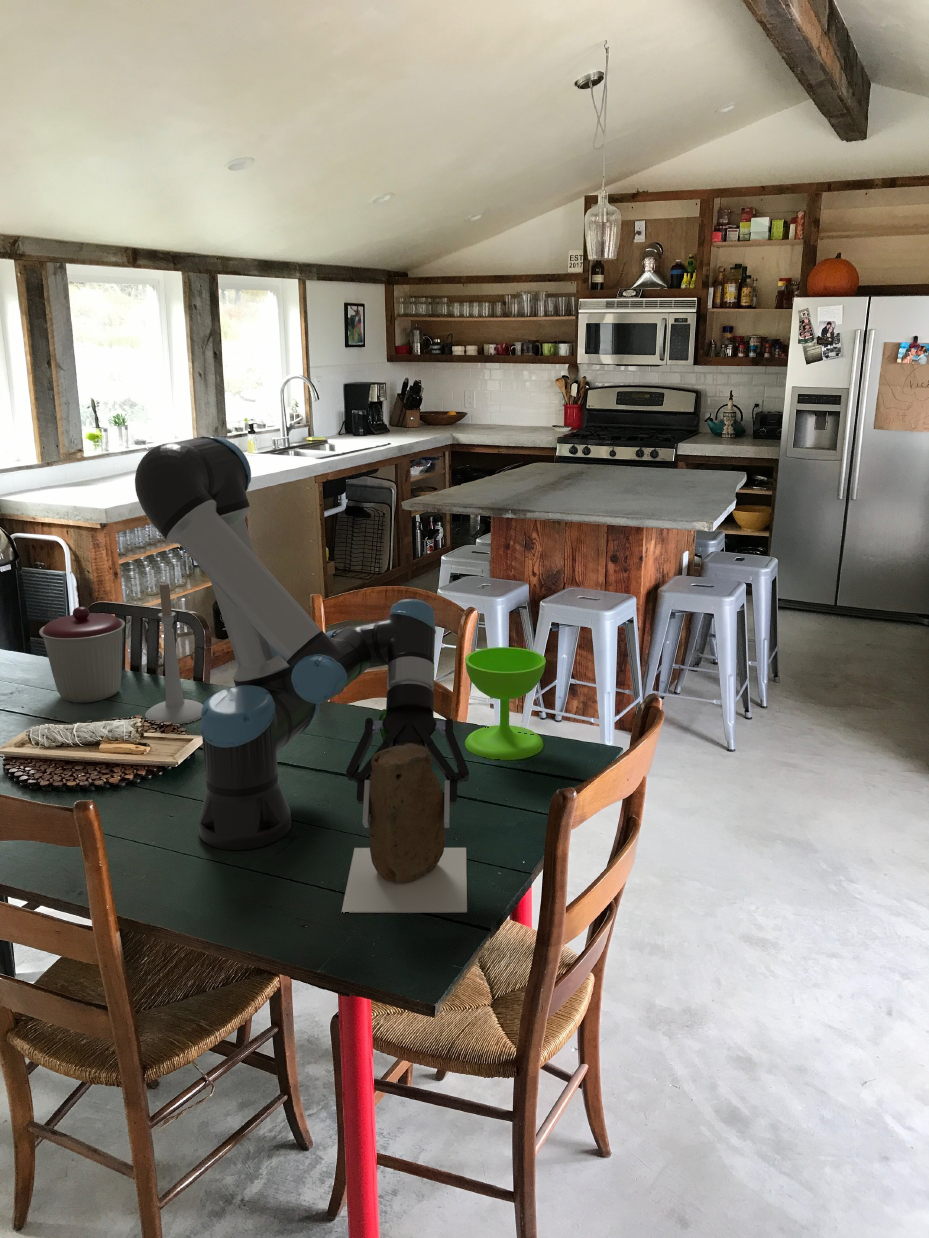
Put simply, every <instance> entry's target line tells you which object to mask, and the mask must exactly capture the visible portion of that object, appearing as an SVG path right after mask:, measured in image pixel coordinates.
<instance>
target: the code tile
mask: <svg viewBox="0 0 929 1238" xmlns="http://www.w3.org/2000/svg"><path fill="white" fill-rule="evenodd" d="M349 869H350V870H349V873H348V879H347V883H346V888H345V893H344V898H343V903H342V908H341V913H342V912H343V913H342V914H346V913H345V912H349V913H348V914H351V913H352V914H354V913H355V914H360V913H361V914H364V913H365V914H366V913H367V914H373V913H375V914H376V913H379V914H383V913H384V914H385V913H386V914H387V913H389V914H390V913H392V914H396V913H398V914H400V913H403V914H405V913H406V914H407V913H408V914H412V913H421V914H422V913H423V914H424V913H433V914H434V913H435V914H436V913H441V914H442V913H444V914H446V913H451V914H452V913H468V897H467V895H468V894H467V892H468V890H467V889H468V887H467V886H468V883H467V847H444V852H443V855H442V856H441V858H440V860H439V862H438V864H437V865H436V867H435V869H434V870H432V871H430V872H429V873H425V874H424V875H423V876H422V877H420V878H418V879H416V880H412V881H409V882H395V881H391V880H386V879H384V878H383V877H382V876H381V875H380V874H379V873H378V872H377V871H376V869H375V867H374V865H373V863H372V860H371V853H370V847H354V850H353V855H352V858H351V863H350V868H349Z"/></svg>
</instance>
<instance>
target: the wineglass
mask: <svg viewBox="0 0 929 1238" xmlns="http://www.w3.org/2000/svg"><path fill="white" fill-rule="evenodd" d="M464 660H465V661H464V663H465V669H466V673H467V676H468V678H469V679H470V681H471V683H472V684H473V685H474V686H475V688H476V689H477V690H478V691H479V692H481V693H482V694H484V695H485V696H486V697H489V698H492V699H495V700H499V724H497V725H487V726H484V727H480V728H478V729H476V730H474V731H472V732H471V733H470V734H468V736H467V737H466V739H465V741H464V745H465V748H466V749H467V751H468V752H471V754H473V753H474V754H473V755H475V754H476V756H478V755H479V756H478V757H480V756H482V757H481V758H484V757H486V758H485V759H489V758H490V760H495V759H500V760H499V761H515V760H523V759H527V758H529V757H532V756H535V755H537V754H539V753H540V752H541V751H542V750H543V749H544V746H545V745H544V741H543V738H542V737H541V735H539V734H538V733H536V732H535V731H533V730H532V729H529V728H527V727H524V726H523V727H522V726H517V725H510V703H511V702H510V700H516V699H520V698H521V697H522V698H523V697H524V696H525V695H527V694H528V693H530V692H531V691H533V690H534V689H535V688H536V686H538V684H539V683H540V680H541V678H542V677H543V675H544V672H545V668H546V663H547V662H546V661H547V660H546V657H545V656H544V655H543V654H541V653H539V652H537V651H534V650H531V649H526V648H521V647H511V646H510V647H509V646H497V647H486V648H481V649H477V650H475V651H472V652H470V653H468V654H467V655H466V657H465V658H464ZM485 727H486V728H485ZM487 727H489V728H487ZM518 732H521V733H518ZM524 733H527V734H524ZM530 734H534V735H530Z"/></svg>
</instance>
